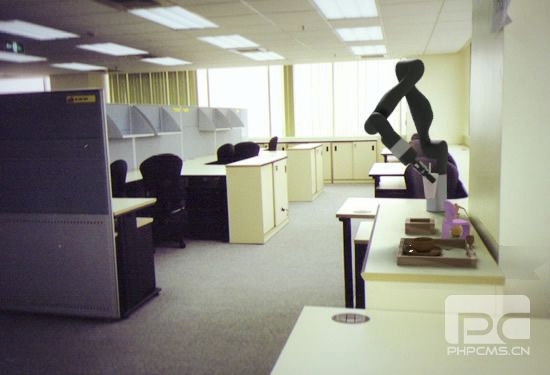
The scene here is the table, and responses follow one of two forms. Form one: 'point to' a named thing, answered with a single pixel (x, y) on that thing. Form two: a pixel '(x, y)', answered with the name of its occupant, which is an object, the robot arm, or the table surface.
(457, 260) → the tray rim
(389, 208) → the table surface
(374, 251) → the table surface
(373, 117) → the robot arm
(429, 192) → the smoothie
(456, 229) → the figurine
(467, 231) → the toy chair
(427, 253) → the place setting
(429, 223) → the holder
